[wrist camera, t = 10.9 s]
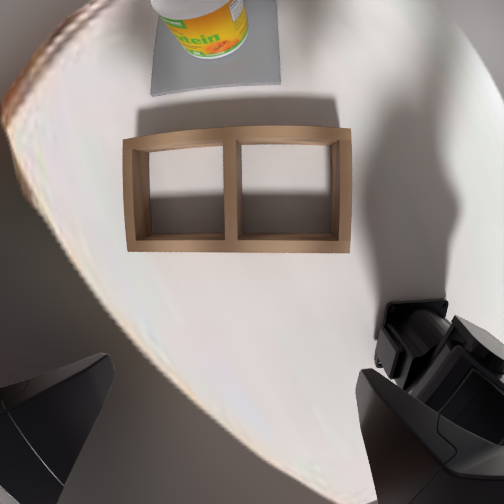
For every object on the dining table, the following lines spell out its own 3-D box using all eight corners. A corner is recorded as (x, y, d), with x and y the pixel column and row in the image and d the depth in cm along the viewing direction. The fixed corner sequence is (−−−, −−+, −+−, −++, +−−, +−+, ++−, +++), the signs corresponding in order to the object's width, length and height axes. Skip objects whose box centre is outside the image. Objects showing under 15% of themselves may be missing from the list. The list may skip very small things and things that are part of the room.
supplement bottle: (173, 59, 17) (114, -3, 8) (193, 9, 16) (152, -60, 7) (240, 64, 17) (212, -13, 8) (256, 13, 16) (242, -68, 6)
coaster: (275, -7, 16) (275, -11, 15) (280, 84, 18) (280, 82, 17) (163, 6, 16) (161, 3, 16) (153, 96, 19) (150, 94, 18)
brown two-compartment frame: (341, 135, 18) (350, 128, 16) (340, 244, 20) (349, 253, 18) (140, 143, 20) (122, 139, 17) (143, 243, 22) (127, 251, 19)
